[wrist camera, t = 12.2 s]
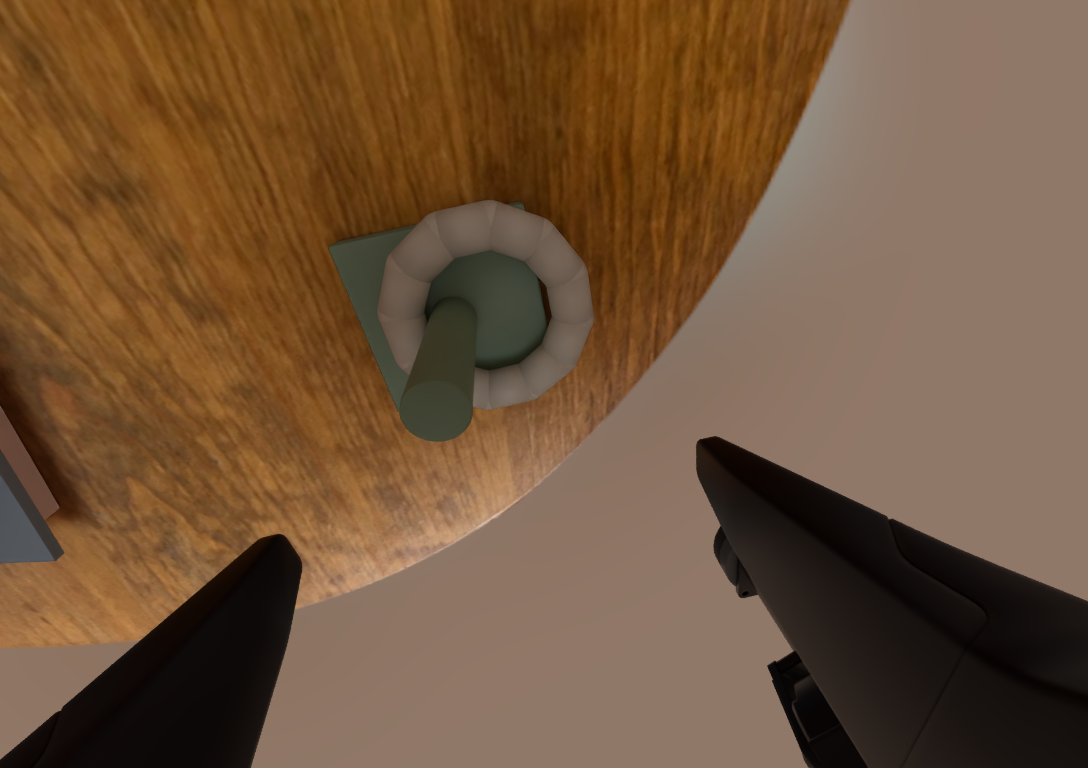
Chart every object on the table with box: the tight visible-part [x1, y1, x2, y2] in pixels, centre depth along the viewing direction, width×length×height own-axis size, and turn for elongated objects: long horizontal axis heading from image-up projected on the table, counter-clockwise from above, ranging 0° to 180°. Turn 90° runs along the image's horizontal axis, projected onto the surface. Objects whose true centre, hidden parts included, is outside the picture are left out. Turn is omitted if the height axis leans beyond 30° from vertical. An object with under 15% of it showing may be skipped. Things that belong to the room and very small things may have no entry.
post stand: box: [328, 201, 548, 442], centre depth 16 cm, size 8×8×9 cm
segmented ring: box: [377, 200, 594, 410], centre depth 18 cm, size 9×9×2 cm
